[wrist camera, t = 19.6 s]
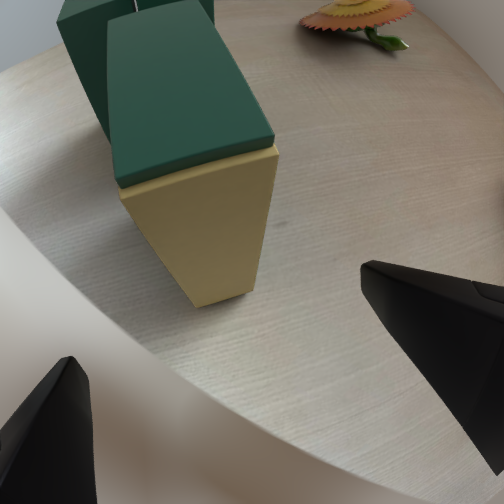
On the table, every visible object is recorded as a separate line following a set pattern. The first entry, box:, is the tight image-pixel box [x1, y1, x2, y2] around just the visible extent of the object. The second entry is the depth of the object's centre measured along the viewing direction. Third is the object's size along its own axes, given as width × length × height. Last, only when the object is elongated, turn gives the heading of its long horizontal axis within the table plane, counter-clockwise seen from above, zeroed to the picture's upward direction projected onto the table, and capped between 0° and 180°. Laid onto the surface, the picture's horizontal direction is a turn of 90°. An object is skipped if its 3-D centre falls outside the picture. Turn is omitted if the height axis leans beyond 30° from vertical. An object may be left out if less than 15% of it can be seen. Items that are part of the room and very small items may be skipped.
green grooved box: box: [56, 0, 215, 145], centre depth 17 cm, size 8×7×14 cm
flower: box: [299, 0, 416, 51], centre depth 28 cm, size 15×13×8 cm
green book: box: [107, 0, 279, 308], centre depth 14 cm, size 8×4×14 cm, turn 19°
